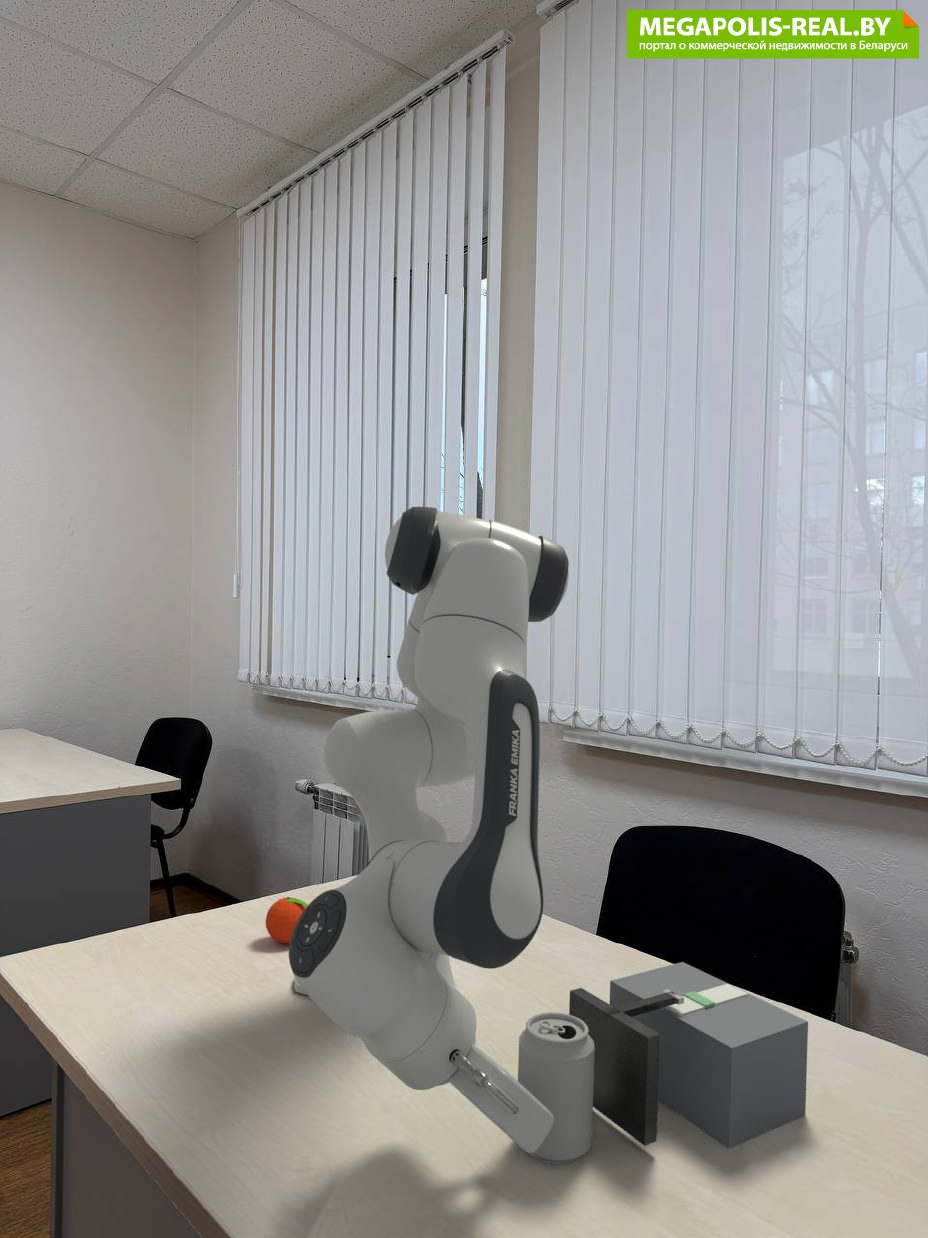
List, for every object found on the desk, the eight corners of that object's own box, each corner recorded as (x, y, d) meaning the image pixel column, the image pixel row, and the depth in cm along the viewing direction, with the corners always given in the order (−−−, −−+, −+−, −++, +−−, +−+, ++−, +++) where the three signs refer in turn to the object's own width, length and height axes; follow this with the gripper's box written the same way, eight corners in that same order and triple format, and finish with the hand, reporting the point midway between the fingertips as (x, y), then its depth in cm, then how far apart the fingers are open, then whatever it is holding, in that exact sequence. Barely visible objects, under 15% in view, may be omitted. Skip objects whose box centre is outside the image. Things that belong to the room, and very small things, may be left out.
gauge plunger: (644, 1146, 82) (648, 1038, 83) (566, 1087, 93) (569, 990, 93) (715, 1117, 88) (718, 1015, 88) (634, 1064, 98) (637, 973, 98)
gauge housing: (729, 1148, 84) (732, 1044, 85) (607, 1065, 100) (610, 977, 100) (805, 1115, 91) (808, 1018, 91) (680, 1042, 106) (682, 958, 106)
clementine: (322, 937, 137) (323, 893, 137) (304, 953, 130) (306, 907, 130) (276, 932, 139) (278, 888, 139) (256, 947, 132) (258, 901, 132)
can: (589, 1175, 80) (593, 1047, 80) (510, 1163, 81) (514, 1037, 81) (593, 1129, 87) (596, 1012, 87) (521, 1118, 88) (524, 1003, 89)
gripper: (514, 1052, 69) (602, 1138, 74) (397, 962, 86) (475, 1036, 91) (466, 1123, 66) (560, 1206, 71) (356, 1016, 84) (438, 1089, 89)
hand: (511, 1110), depth 81 cm, fingers closed
